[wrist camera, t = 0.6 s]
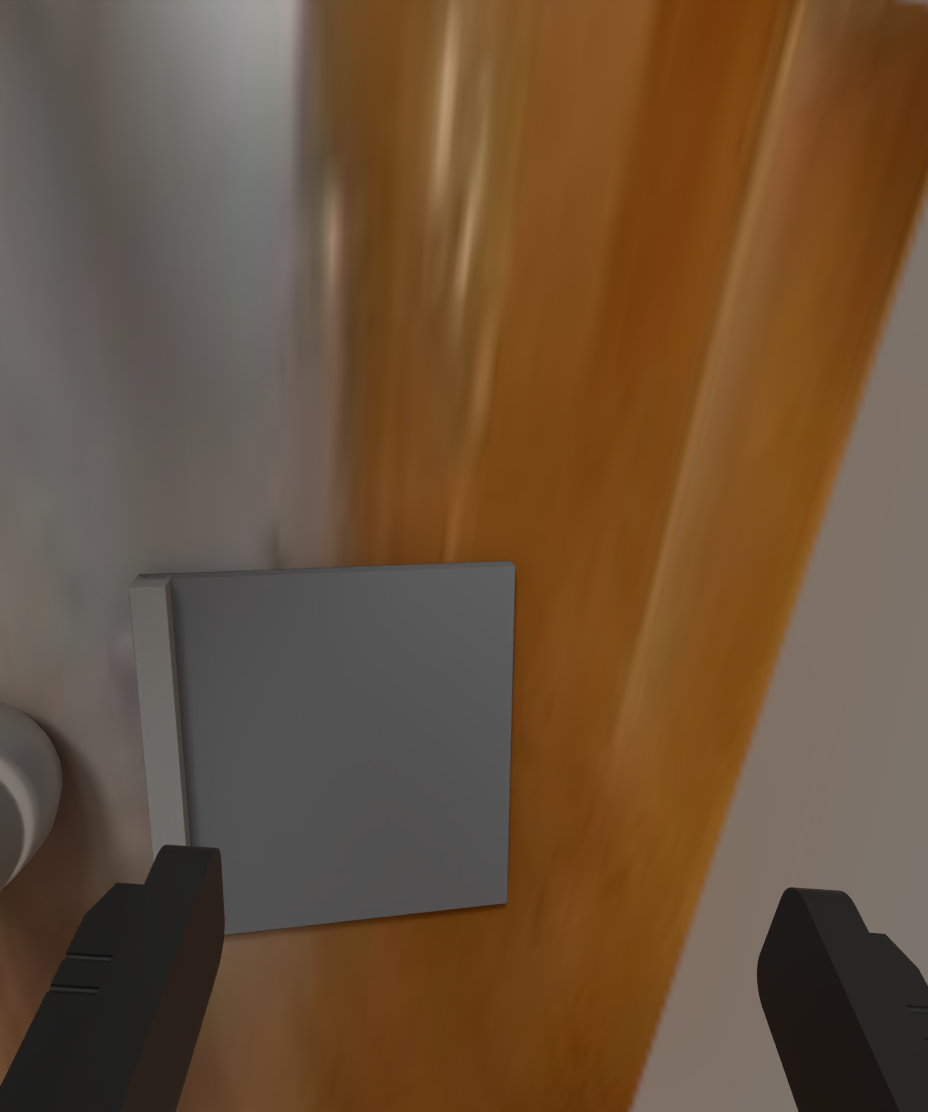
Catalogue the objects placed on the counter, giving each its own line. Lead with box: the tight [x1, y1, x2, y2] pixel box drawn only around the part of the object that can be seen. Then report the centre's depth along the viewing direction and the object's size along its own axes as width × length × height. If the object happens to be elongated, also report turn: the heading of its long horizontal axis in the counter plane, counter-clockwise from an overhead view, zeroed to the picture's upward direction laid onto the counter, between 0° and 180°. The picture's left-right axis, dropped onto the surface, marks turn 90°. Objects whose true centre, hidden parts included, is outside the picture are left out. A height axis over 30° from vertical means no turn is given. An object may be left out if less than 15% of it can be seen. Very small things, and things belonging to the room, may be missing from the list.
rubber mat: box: [129, 561, 515, 935], centre depth 32 cm, size 15×14×2 cm
